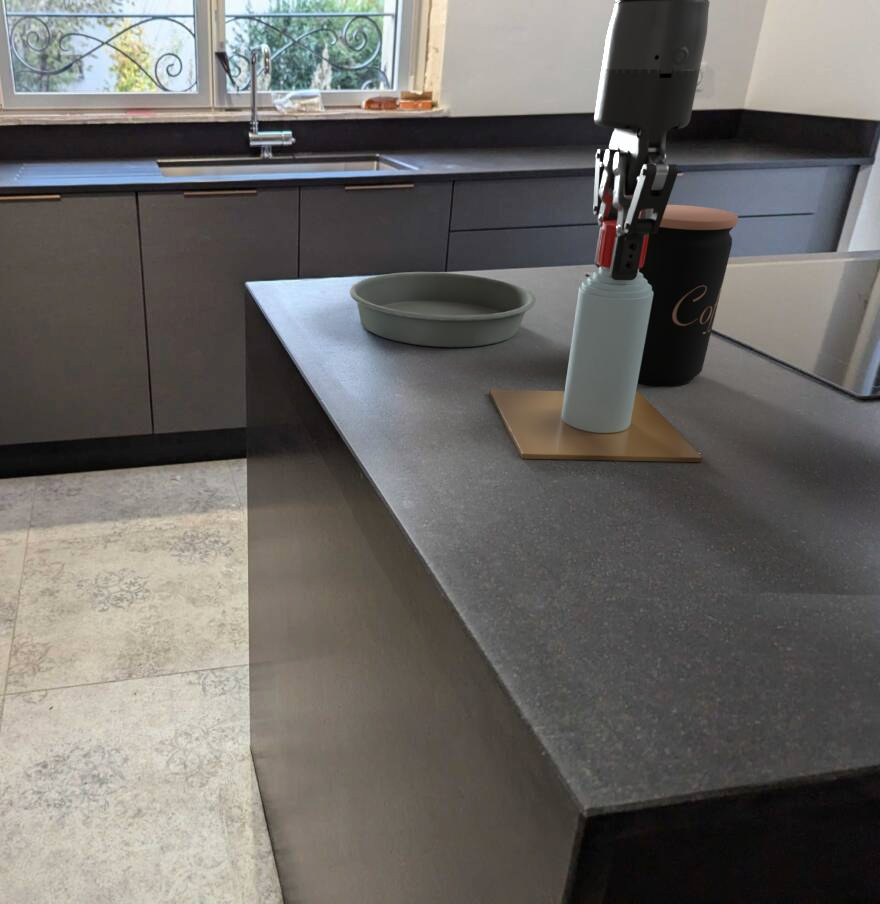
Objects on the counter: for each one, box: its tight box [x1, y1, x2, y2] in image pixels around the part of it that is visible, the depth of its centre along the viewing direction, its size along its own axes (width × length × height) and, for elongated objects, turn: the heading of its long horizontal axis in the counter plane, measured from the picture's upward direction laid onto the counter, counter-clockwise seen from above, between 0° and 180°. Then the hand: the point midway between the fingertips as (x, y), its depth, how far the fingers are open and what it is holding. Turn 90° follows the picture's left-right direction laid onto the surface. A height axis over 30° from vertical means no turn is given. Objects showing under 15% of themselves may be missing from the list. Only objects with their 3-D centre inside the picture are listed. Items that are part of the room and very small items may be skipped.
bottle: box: [561, 266, 654, 433], centre depth 77 cm, size 6×6×18 cm
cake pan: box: [348, 271, 537, 348], centre depth 111 cm, size 25×25×4 cm
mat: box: [488, 389, 703, 463], centre depth 81 cm, size 16×16×1 cm
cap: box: [597, 220, 649, 269], centre depth 74 cm, size 4×4×4 cm
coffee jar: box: [637, 204, 739, 387], centre depth 91 cm, size 11×11×18 cm
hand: (614, 272), depth 75 cm, fingers closed on cap, 3 cm apart
